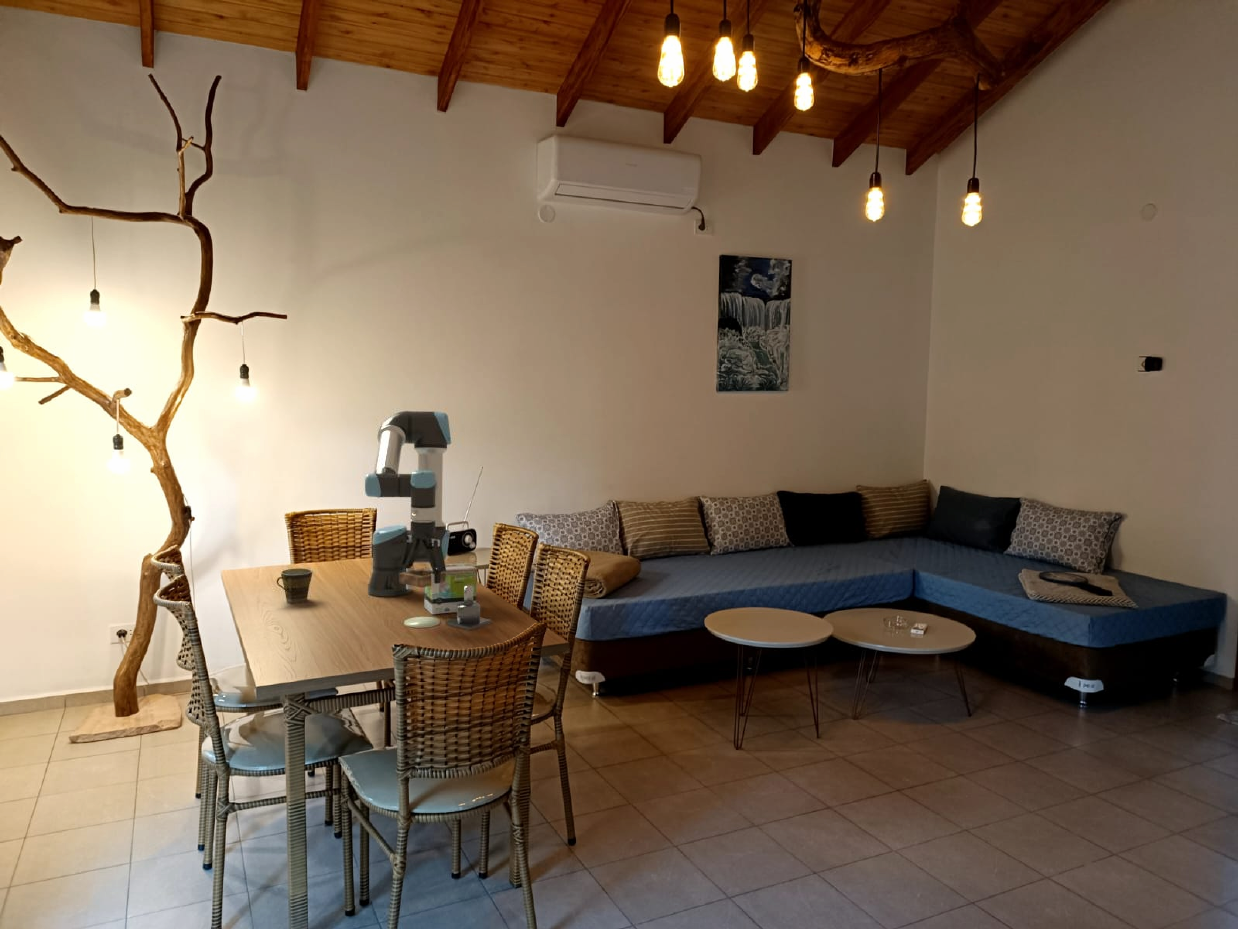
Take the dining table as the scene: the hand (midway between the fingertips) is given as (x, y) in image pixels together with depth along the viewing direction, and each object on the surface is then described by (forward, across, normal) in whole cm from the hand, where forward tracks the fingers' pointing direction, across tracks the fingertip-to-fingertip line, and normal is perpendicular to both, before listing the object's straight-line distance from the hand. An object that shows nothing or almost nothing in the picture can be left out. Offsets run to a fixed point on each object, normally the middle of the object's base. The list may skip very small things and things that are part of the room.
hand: (422, 590), depth 270 cm
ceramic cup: (+10, -52, -8) cm, 54 cm away
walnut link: (-3, 0, 0) cm, 3 cm away
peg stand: (+10, +12, +8) cm, 18 cm away
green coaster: (+10, 0, 0) cm, 10 cm away
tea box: (+10, -4, +17) cm, 21 cm away
